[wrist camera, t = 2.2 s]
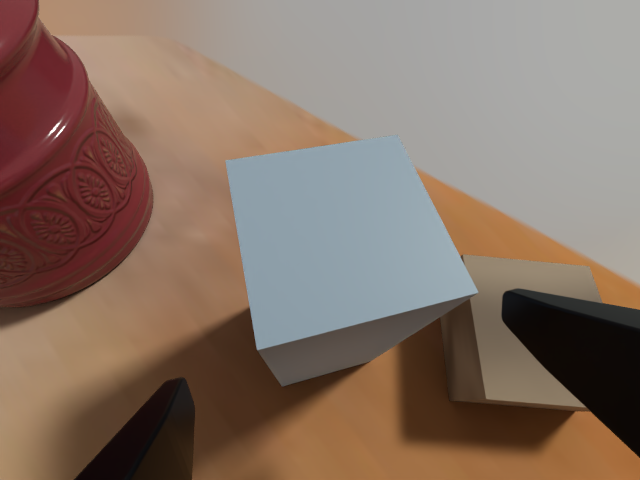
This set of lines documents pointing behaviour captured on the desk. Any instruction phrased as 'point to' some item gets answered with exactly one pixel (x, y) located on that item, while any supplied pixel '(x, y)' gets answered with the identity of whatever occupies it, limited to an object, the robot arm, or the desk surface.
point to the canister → (59, 169)
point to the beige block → (506, 335)
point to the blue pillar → (340, 254)
